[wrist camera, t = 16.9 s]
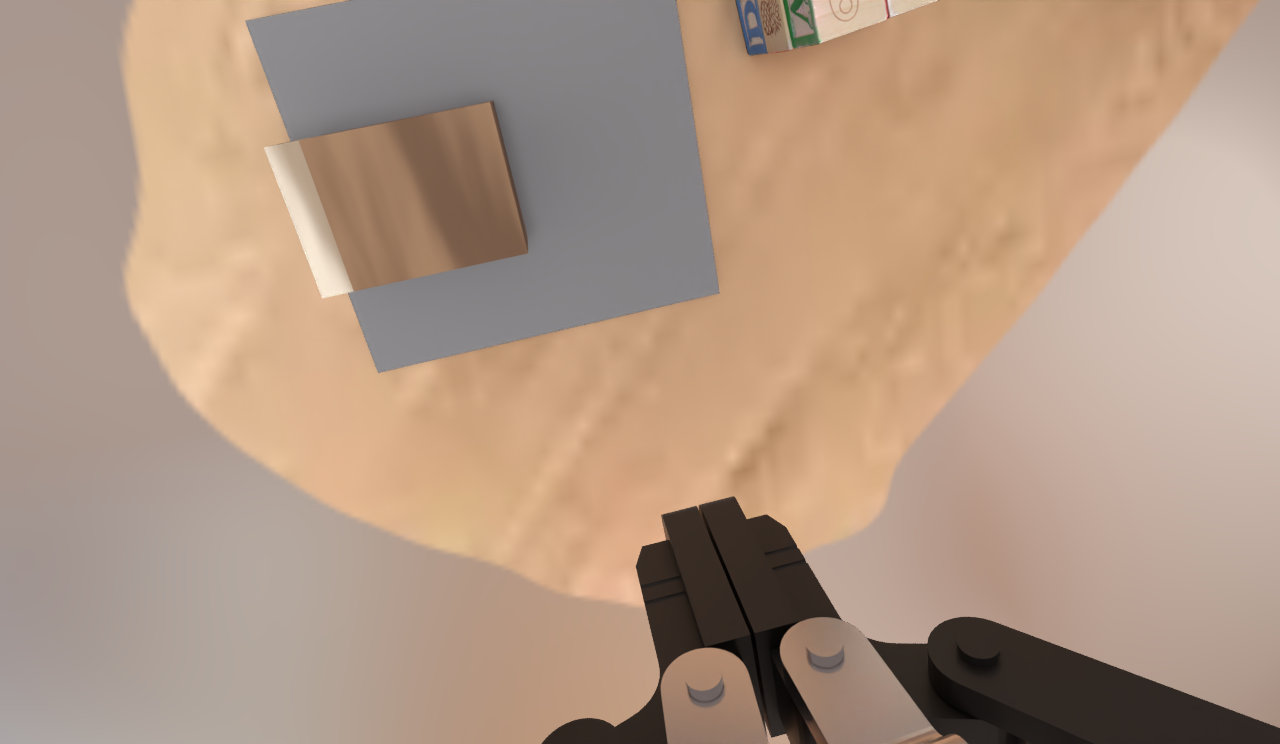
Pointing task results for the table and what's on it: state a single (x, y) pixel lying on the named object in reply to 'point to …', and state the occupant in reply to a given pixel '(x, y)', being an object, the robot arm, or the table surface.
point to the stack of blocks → (811, 20)
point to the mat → (519, 153)
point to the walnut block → (401, 198)
